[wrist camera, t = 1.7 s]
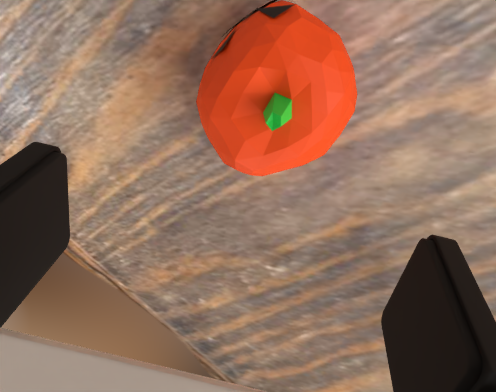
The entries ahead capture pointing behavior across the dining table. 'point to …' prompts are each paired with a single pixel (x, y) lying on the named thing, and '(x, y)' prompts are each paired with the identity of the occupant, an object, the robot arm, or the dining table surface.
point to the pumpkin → (276, 90)
